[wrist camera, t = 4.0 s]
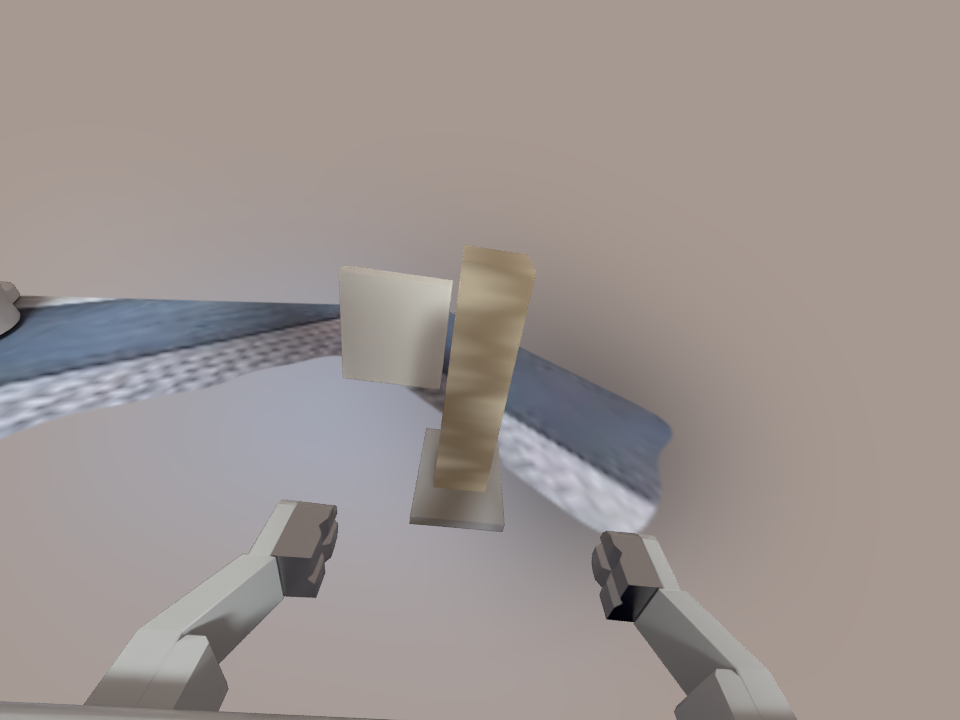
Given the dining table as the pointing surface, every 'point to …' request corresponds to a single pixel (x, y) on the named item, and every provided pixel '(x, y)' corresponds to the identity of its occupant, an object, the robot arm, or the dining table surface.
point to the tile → (393, 326)
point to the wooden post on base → (475, 395)
